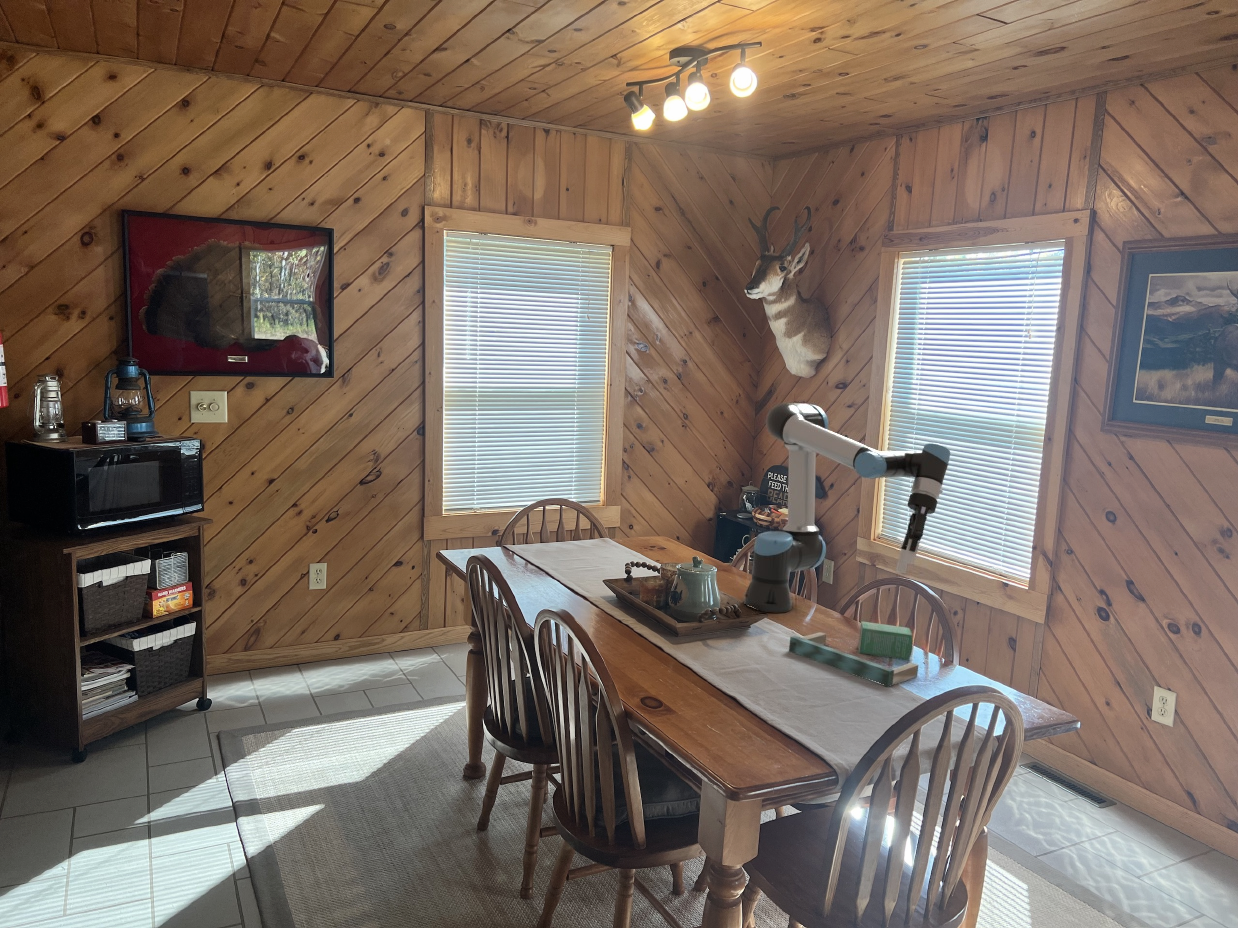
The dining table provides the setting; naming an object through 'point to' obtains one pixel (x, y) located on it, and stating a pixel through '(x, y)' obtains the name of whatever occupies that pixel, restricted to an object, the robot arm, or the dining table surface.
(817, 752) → the dining table surface
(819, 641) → the bay
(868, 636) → the box
